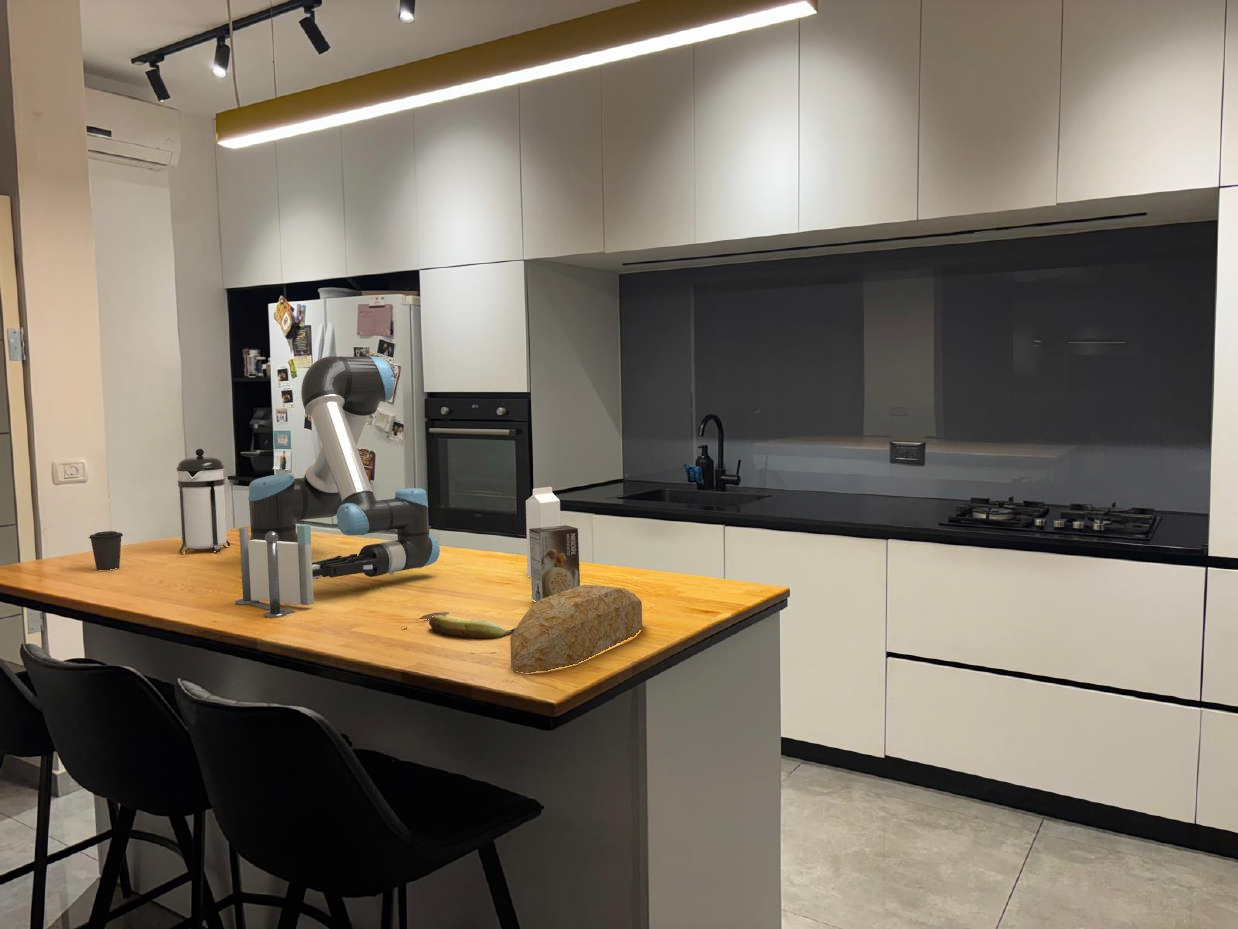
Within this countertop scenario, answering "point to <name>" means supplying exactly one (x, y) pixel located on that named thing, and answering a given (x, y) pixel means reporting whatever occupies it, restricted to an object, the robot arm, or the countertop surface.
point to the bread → (574, 627)
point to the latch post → (273, 575)
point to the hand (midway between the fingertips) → (291, 575)
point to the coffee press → (202, 503)
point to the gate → (290, 567)
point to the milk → (541, 514)
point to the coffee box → (554, 560)
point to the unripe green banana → (464, 627)
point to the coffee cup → (106, 549)
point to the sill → (260, 605)
